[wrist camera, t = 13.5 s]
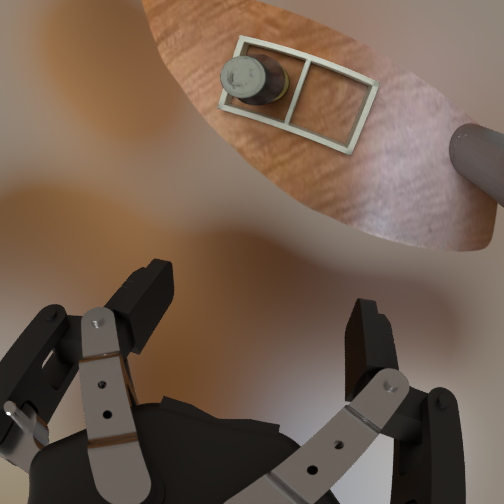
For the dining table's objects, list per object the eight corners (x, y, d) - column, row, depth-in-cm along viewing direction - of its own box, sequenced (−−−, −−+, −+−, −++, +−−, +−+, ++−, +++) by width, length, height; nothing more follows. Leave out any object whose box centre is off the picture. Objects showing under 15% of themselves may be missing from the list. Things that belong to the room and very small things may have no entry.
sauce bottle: (241, 89, 40) (189, 91, 24) (260, 55, 37) (219, 31, 20) (279, 109, 41) (253, 122, 24) (299, 75, 38) (288, 61, 21)
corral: (375, 83, 36) (380, 83, 33) (348, 151, 42) (350, 155, 39) (245, 39, 36) (240, 35, 33) (224, 107, 42) (217, 108, 39)
